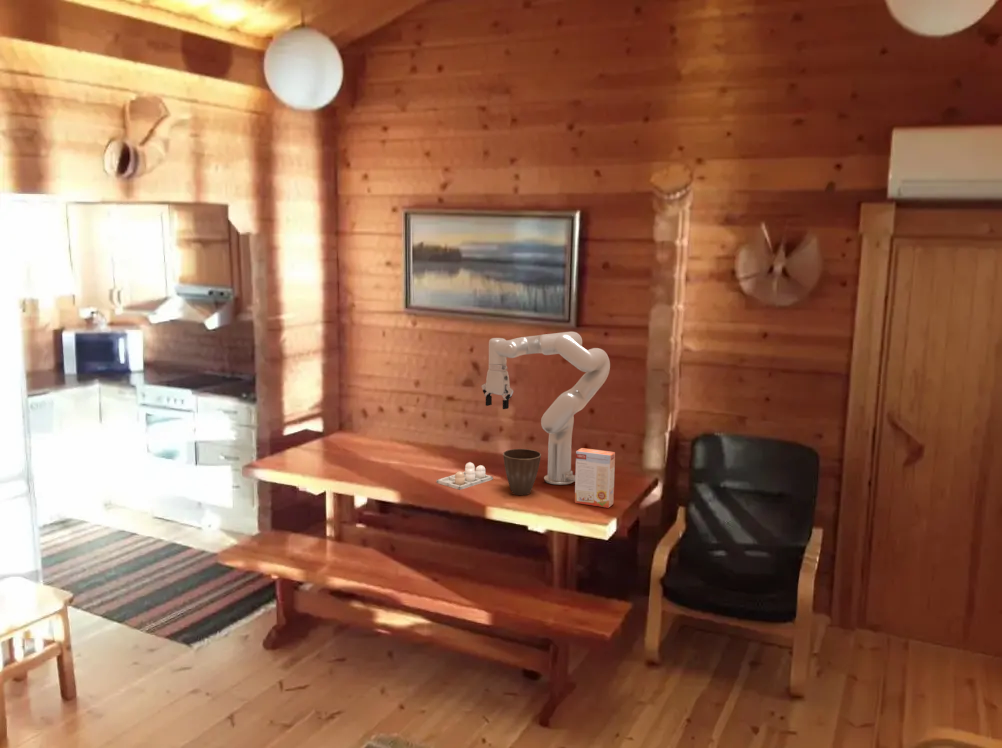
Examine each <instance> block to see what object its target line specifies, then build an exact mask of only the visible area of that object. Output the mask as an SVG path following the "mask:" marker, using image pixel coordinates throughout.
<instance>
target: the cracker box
mask: <svg viewBox="0 0 1002 748" xmlns="http://www.w3.org/2000/svg"><path fill="white" fill-rule="evenodd" d="M615 463H616V452H615V451H608V450H603V449H602V450H601V449H592V448H584V447H581V448H579V449H578V450H576V451H575V473H574V475H575V481H574V482H575V483H574V484H575V485H574V503H575V504H581V505H587V506H588V505H589V506H594V507H601V508H606V509H609V508H611V506H613V505H614V495H615V467H616V465H615Z"/></svg>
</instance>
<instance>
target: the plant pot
mask: <svg viewBox="0 0 1002 748" xmlns="http://www.w3.org/2000/svg"><path fill="white" fill-rule="evenodd" d="M502 456H503V464H504V468H505V474H506V475H505V476H506V478H507V479H506V480H507V482H508V485H509V488H510V491H511V493H512V494H513V495H516V496H528V495H529V494H530V493H531V491H532V489H533V487H534V484H535V482H536V479H537V475H538V471H539V467H540V462H541V458H542V457H541V456H542V454H541V452H539V451H538V450H537V451H536V450H534V449H528V448H527V449H526V448H512V449H508V450H506V451H504V452H503V453H502Z"/></svg>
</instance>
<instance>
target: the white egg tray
mask: <svg viewBox="0 0 1002 748" xmlns="http://www.w3.org/2000/svg"><path fill="white" fill-rule="evenodd" d="M462 472H463V473H464V475H465V471H462ZM493 479H494V477H493V476H492V475H487V474H485V478H483V479H478V478H476V471H475V481H474V482H471V483H470V482H467V481H465V484H464V485H461V486H459V485H456V484H455V474H451V475H449V476H445V477H442V478H439V479H436V484H439V485H443V486H445V487H449V488H453V489H455V490H459V491H460V490H464V489H468V488H471V487H473V486H477V485H480V484H483V483H486V482H487V483H488V482H489V481H492V480H493Z"/></svg>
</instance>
